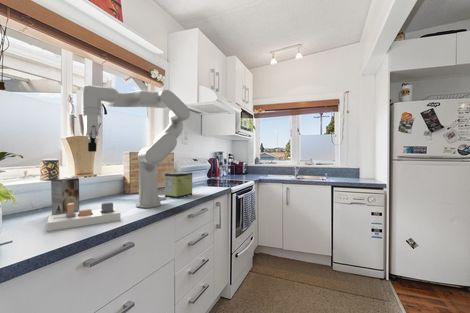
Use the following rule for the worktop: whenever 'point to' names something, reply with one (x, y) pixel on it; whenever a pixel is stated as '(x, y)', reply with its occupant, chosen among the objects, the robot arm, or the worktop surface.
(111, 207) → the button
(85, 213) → the press button
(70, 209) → the slider lever
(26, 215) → the worktop surface
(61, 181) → the coffee box
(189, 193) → the protein box
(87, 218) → the console
